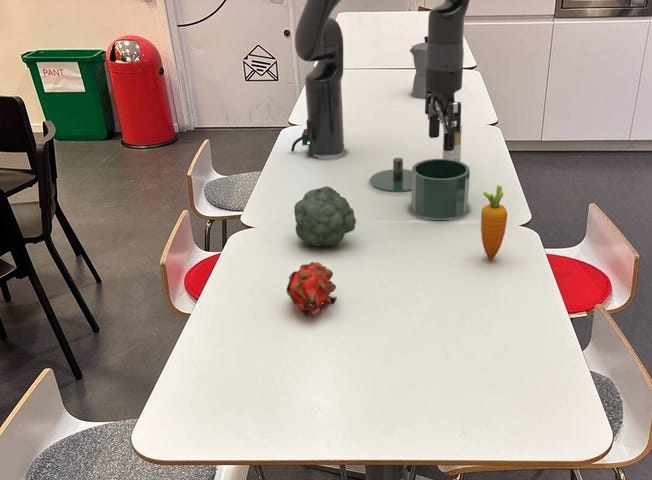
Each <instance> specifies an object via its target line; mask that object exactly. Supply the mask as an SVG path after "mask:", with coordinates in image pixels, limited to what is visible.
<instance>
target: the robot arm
mask: <svg viewBox="0 0 652 480" xmlns="http://www.w3.org/2000/svg"><path fill="white" fill-rule="evenodd" d="M470 1H471V0H444V1H443V2H442V3H441V4H439V5H437V6H435V7H433V8H431V10H429V12H428V19H427V20H428V21H427V36H428V43H427V50H426V76H425V87H426V98H425V99H424V100H425V103H424V114H425V115H427V120H428V137H429V138H430V139H436V138H439V137H440V130H441V129H440V128H441V127H440V125H441V124H442V130H443V129H444V131H443V143H442V151H443V150H444V151H452V150H454V140H455V133H458V132H460V128H461V122H462V103H461V101H457V102H456V99H455V94H456V92H459V91H460V90H461V89H462V87H463V75H464V74H463V72H464V55H465V51H464V33H465V31H464V30H465V18H466V15H467V11H468V8H469V4H470ZM341 2H342V0H306V1H305V4H304V7H303V8H302V9H303V10H302V12H301V15H300V17H299V19H298V22H297V26H296V28H295V32H294V48H295V52H296V54H297V56H298V57H299V58H300V60H302V61H304V62H309V63H311V62H317V63H316V65H315V66H314V68H312V70H311V71H309V72H308V73H307V74H306V75H305V78H304V85H305V86H304V87H305V99H306V112H307V118H306V128H304V129H303V131H302V133H301V136H300V137H299V138H296V139H295V140H294V142H293V143H292V145H291V149H290V151H291V152H292V153H294V152H295V148H296V145H297V144H298V143H299V142H301V143H302V146H308V157H313V158H317V159H318V158H334V157H338V156H341V155H343V154H344V153H345V151H346V149H345V137H344V136H345V135H344V133H345V132H344V116H343V115H344V113H343V93H342V92H343V91H342V80H343V76H344V36H343V31H342V28H341V26H340V24H339V22H338V21H337V20H336V19H335V18H334V17H330V16H331V14H332V13H333V11H334V10H335V9H336V7H337V6H338V5H339V4H340V3H341ZM455 121H456V122H455Z"/></svg>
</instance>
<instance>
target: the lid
mask: <svg viewBox="0 0 652 480" xmlns="http://www.w3.org/2000/svg"><path fill="white" fill-rule="evenodd" d="M369 181H370V185H371V186H372V187H374V188H375V189H377V190H380V191H383V192H388V193H389V192H390V193H406V192H412V169H404V159H403V158H402V157H393V159H392V169H386V170H382V171H378V172H376V173H374V174H373V175H372V176H371V177H370V178H369Z"/></svg>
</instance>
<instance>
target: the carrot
mask: <svg viewBox="0 0 652 480" xmlns="http://www.w3.org/2000/svg"><path fill="white" fill-rule="evenodd" d="M482 195H484V197H486V199H487V200H488V201H489V203H488V204H487V205H484V207H482V209H481V216H480V233H481V241H482V245H483V250H484V253H485V254H486V257H487V259H488V260H489V261H492V260H493V259H494V258H495V257H496V256H497V254H498V252H499V251H500V249H501V247H502V243H503V240H504V237H505V233H506V227H507V223H508V222H507V221H508V210H507V208H506V207H505V206H504V205H503V204H500V202H501V200H502V199H503V196H504V192H503V187H502V186H501V185H497V186H496V194H495V195H494V194H493V193H488V192H486V191H484V192H483V194H482Z"/></svg>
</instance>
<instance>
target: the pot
mask: <svg viewBox="0 0 652 480" xmlns="http://www.w3.org/2000/svg"><path fill="white" fill-rule="evenodd" d="M411 170H412V191H411V210H412V211H413V212H414V213H415V214H416V215H418V216H421V217H422V218H428V219H431V221H432V222H447V221H448V222H449V219H453V218H457V217H460V216H462V215H464V214H465V213H466V212H467V211H468V208H469V207H468V206H469V193H470V192H469V189H470V173H471V170H470V167H469V166H468V165H467V164H466V163H465V162H463V161H460V162H459V161H456V160H450V159H443V158H431V159H425V160H421V161H419V162H416V163H414V165H412V167H411Z"/></svg>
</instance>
